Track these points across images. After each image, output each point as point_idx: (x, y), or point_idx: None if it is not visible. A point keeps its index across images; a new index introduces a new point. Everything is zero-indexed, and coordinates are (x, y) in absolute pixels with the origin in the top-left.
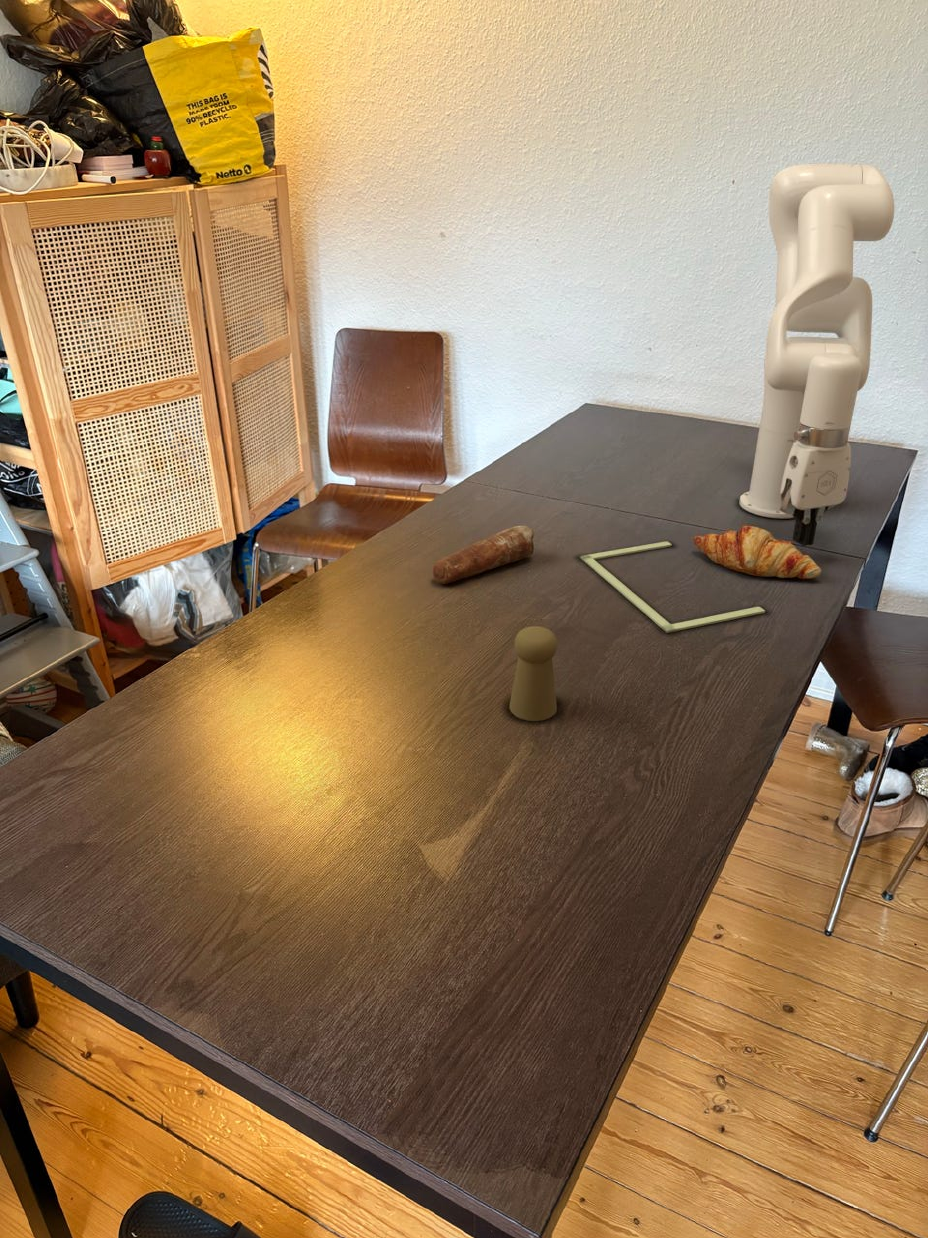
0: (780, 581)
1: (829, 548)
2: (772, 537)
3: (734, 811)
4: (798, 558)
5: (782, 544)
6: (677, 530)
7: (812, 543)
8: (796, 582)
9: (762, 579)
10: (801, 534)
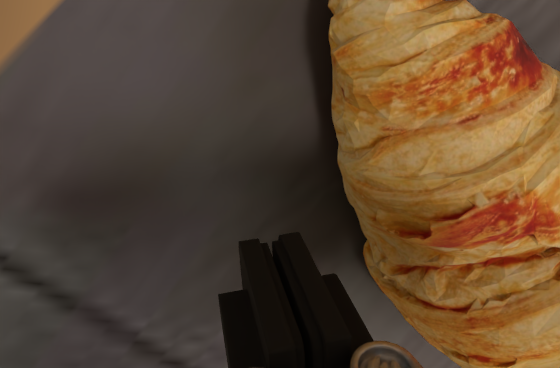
0: None
1: (11, 312)
2: (487, 297)
3: None
4: (494, 53)
5: (550, 184)
6: None
7: (245, 242)
8: None
9: None
10: (338, 294)
